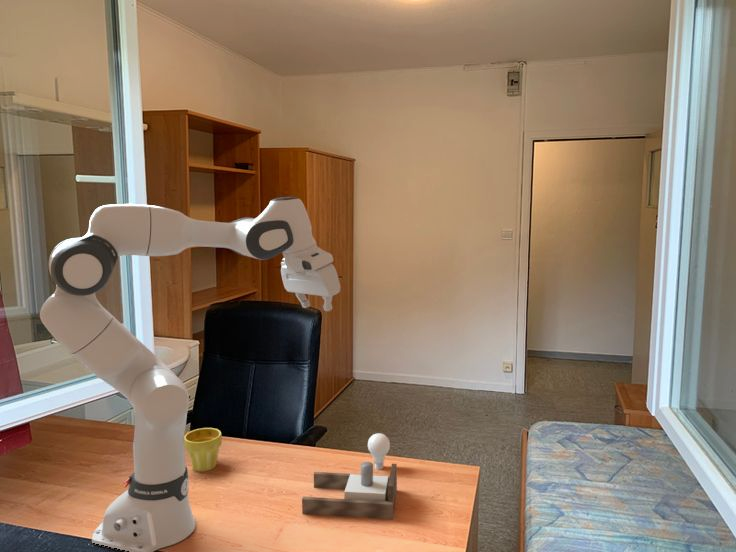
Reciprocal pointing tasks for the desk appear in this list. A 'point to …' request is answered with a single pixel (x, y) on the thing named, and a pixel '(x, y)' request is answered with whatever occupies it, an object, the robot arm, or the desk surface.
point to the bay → (349, 505)
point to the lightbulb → (378, 449)
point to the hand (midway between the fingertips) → (317, 308)
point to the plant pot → (203, 447)
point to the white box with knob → (367, 485)
